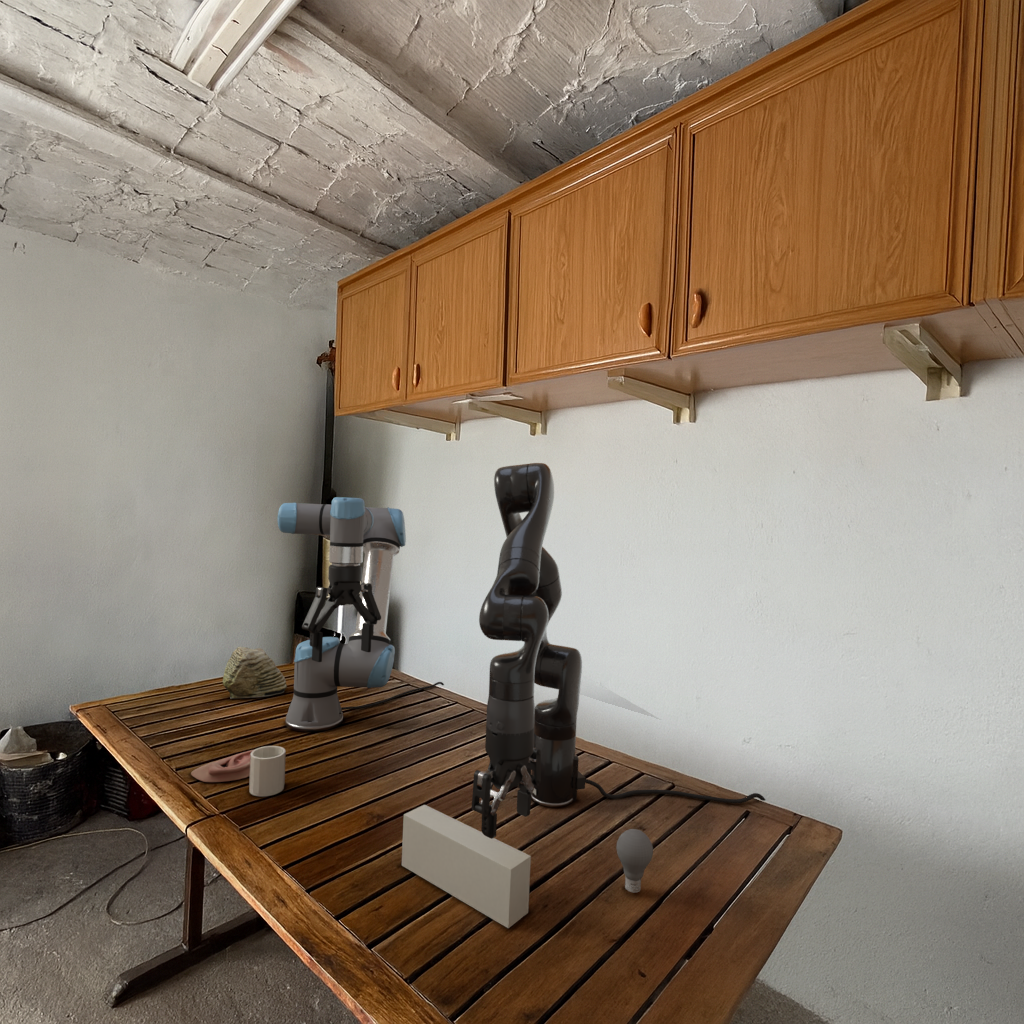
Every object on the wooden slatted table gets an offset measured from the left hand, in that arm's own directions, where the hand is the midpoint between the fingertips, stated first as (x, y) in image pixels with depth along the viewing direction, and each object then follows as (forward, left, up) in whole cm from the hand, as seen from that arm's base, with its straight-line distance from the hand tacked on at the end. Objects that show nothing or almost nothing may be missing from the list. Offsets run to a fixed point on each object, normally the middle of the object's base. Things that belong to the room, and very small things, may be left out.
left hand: (342, 656), depth 146 cm
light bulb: (-6, +73, -27) cm, 78 cm away
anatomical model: (+18, -17, -27) cm, 36 cm away
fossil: (-15, -63, -27) cm, 70 cm away
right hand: (+13, +60, -13) cm, 63 cm away
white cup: (+16, -3, -27) cm, 31 cm away
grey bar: (+13, +52, -27) cm, 59 cm away
